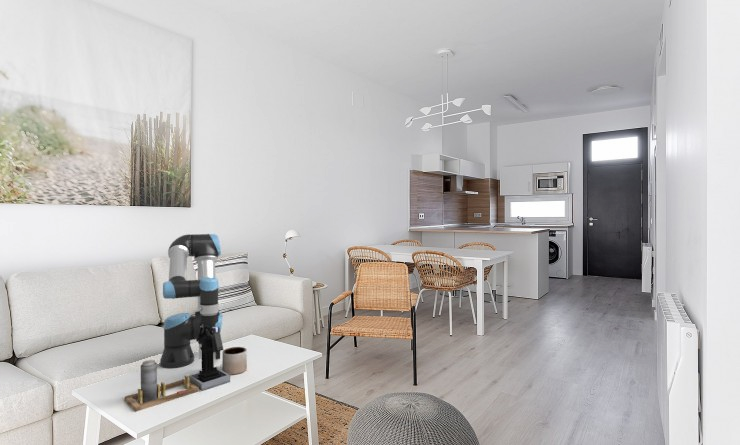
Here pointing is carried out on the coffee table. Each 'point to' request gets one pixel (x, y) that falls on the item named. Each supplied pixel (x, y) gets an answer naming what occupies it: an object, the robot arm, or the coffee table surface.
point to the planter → (234, 360)
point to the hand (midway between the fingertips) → (209, 362)
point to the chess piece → (207, 360)
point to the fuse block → (156, 388)
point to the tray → (209, 384)
